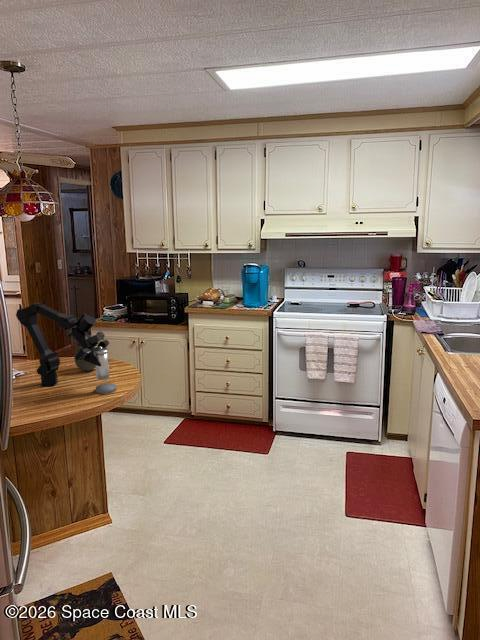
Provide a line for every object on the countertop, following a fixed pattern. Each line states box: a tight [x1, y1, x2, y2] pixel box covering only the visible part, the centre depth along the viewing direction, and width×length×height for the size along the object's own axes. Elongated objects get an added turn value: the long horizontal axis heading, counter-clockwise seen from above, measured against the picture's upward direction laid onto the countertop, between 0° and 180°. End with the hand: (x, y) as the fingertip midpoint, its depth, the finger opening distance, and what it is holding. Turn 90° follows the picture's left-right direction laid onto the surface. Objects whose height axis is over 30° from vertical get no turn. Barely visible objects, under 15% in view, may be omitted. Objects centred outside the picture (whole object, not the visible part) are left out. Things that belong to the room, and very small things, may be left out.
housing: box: [94, 347, 110, 381], centre depth 211 cm, size 6×6×13 cm
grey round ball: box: [73, 346, 96, 372], centre depth 244 cm, size 14×14×15 cm
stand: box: [95, 382, 117, 395], centre depth 215 cm, size 9×9×2 cm
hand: (104, 364), depth 210 cm, fingers closed on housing, 6 cm apart
